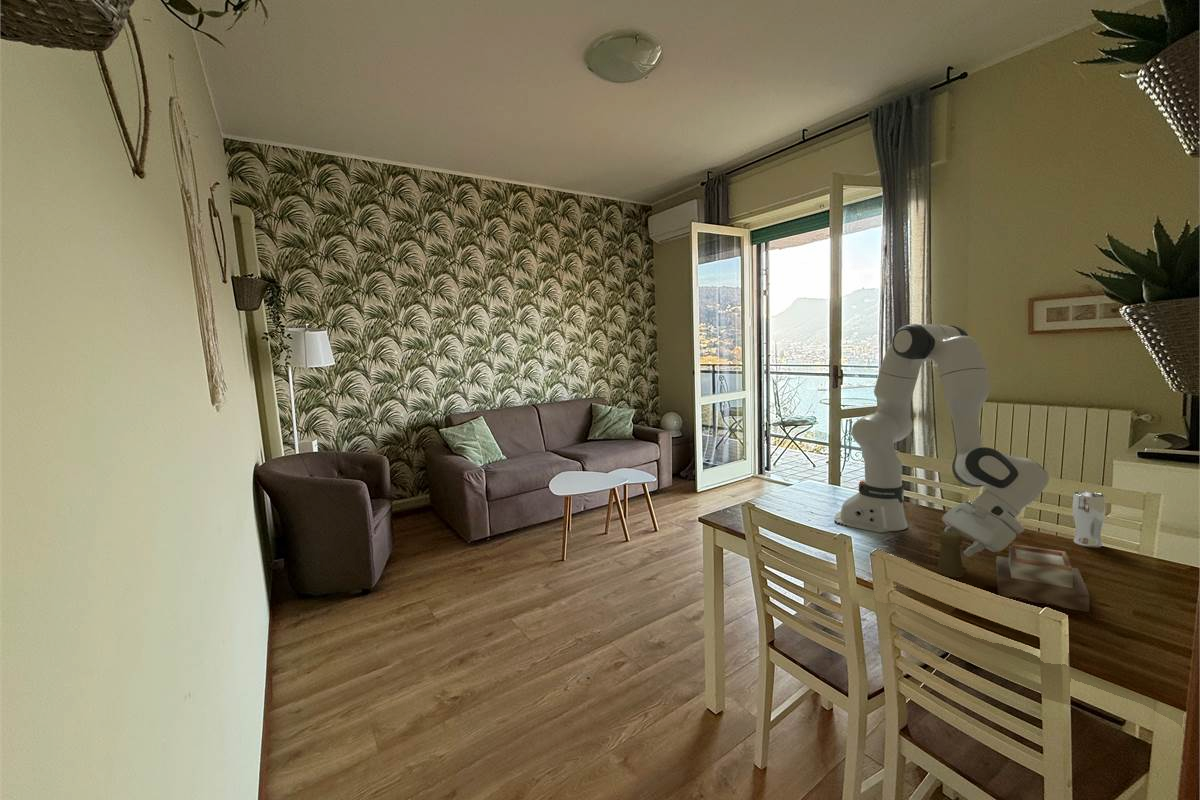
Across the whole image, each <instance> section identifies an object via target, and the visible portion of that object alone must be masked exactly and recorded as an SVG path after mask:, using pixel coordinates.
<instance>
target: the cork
mask: <svg viewBox="0 0 1200 800" xmlns="http://www.w3.org/2000/svg"><path fill="white" fill-rule="evenodd" d="M938 542H939V543H940V548H939V555H938V559H937V560H938V562H937V565H936V572H937V573H939V574H940V575H942V576H946V577H950V578H958V577H957V576H962V575H963V576H964V574H965V572H964V568H963V560H962V554H961V553H962V552H961V548H960V547H961V546H962V543H963V537H962V536H961V535H960V533H958V532H956V533H955V532H949V531H945V532H944V531H942V532H940V533H939V534H938ZM963 576H962V577H963Z"/></svg>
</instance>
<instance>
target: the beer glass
mask: <svg viewBox="0 0 1200 800" xmlns="http://www.w3.org/2000/svg"><path fill="white" fill-rule="evenodd" d="M1106 507H1107V506H1106V496H1105V495H1104V494H1102V493H1099V492H1095V491H1085V490H1084V491H1083V490H1081V491H1080V490H1079V491H1077V490H1076V491H1074V492H1073V498H1072V507H1071V508H1072V516H1073V521H1074V526H1075V533H1074V537H1073V542H1074V544H1077V545H1079V546H1082V547H1085V548H1086V547H1087V548H1095V549H1097V548H1101V547H1103V542H1102V536H1101V532H1102V528H1103V525H1104V521H1105V518H1106ZM1082 542H1083V543H1082Z"/></svg>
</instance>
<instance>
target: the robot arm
mask: <svg viewBox="0 0 1200 800" xmlns="http://www.w3.org/2000/svg"><path fill="white" fill-rule="evenodd" d="M927 361H928V362H931V361H934V362H935V363H936V364H937V367H938V372H939V377H940V382H941V387H942V390H943V395H944V397H945V399H946V400H945V401H946V402H947V406H948V410H949V413H950V417H951V425H952V431H953V438H954V444H955V455H954V458H953V462H952V465H951V470H952V474H953V476H954V478H955V479H956V480H957V481H958V482H959V483H960V484H962V485H964V486H967V487H970V488H981V487H984V488H985V490H984V491H982V493H981V494H979V495H978V496H977V497H976V498H975V499H974V500H973V501H971V500H968V501H963V502H960V503H958V504H955V506H953V507H952V508H951V509H949V510H948V511H947V512H946V513H945V514H943V515H942V518H941V521H942V522H943V523H944V524H945V525H946V526H945V528H944V531H943V532H945V531H949V532H955V533H958V534H961V535H962V536H964V537H965V538H967V539H970V540H972V541H973V542H972V543H973V544H972V545H970V546H964V547H963V549H960V553H962V555H964V556H966V557H967V558H970V557H971V556H973V555H974V554H976V553H979V552H982V551H984V550H985V548H986V549H987V550H989V551H990V552H993V553H999V552H1002V551H1003V550H1004V549H1006V548H1007V547H1009V546H1010V544H1012V542H1013V541H1014V540H1015V539H1016V536H1017V534H1018V535H1021V533H1023V532H1024V531H1025V529H1026V528H1025V527H1024V526H1023V525H1022V523H1020V521H1018V518H1017V517H1018V516H1019V515H1020V513H1021V511H1022V510H1023V508H1024V507H1026V506H1027V505H1029V504H1031V503H1033V501H1034V500H1036V499H1037V498H1038V497H1039V496H1040V495H1041V493H1042V492H1044V490H1045V489H1046V487H1047V486H1048V485H1049V482H1050V476H1049V475H1048V473H1047V472H1048V471H1046V469H1044V468H1043V466H1042V465H1041V464H1039V463H1038V462H1036V461H1035V460H1033V459H1030V458H1028V457H1019V456H1014V455H1010V454H1006V453H1004V452H1001V451H998V450H997V449H994V448H991V447H987V446H986V447H984V446H983V441H982V435H981V428H980V414H981V411H982V408H983V406H984V405H985V403H986V401H987V399H988V397H989V395H990V390H991V389H990V388H991V387H990V376H989V375H990V374H989V371H988V367H987V366H988V365H987V363H986V359H985V357H984V354H983V351H982V349H981V347H980V345H979V343H978V341H977V339H975V338H974V337H971V336H970V335H969V334H968V333H967V331H965V330H964V329H962V328H961V327H959V326H955V325H946V324H939V323H930V324H929V323H928V324H927V323H925V324H924V323H921V324H917V323H910V324H906V325H903V326H901V327H899V328H898V329H897V330H896V331H895V333H894V334H893V336H892V342H891V343H890V345H889V346H888V348H887V350H886V352H885V355H884V356H883V359H882V361H881V364H880V368H879V372H878V375H877V379H876V382H875V385H874V390H873V393H874V397H876V410H875V412H874V413H871V414H867V415H864V416H863V417H861V418H859V419H858V420H856V422H854V423H853V425H852V428H851V435H852V438H853V439H854V441H855V442H856V443H857V444H858V445H859V448H860V450H861V453H862V456H863V460H864V463H863V464H864V479H863V480H860V481H859V482H858V492H857V493H856V494H854V495H852V496H850V497H849V498H847V499H846V500H845V501H844V502H843V503H842V506H841V511H838V512H837V513H835V515H834V517H833V518H834V519H835V521H836V522H838V523H840V524H839V525H841V524H843V525H842V526H845V525H847V526H846V527H850V528H855V529H860V530H866V531H870V532H875V533H879V534H883V533H887V532H896V531H897V532H898V531H899V532H900V531H903V530H906V529H907V528H908V523H907V519H906V516H905V509H904V501H905V490H904V485H903V468H902V467H903V463H902V462H901V460H900V459H899V457H898V456H897V454H896V449H895V443H896V442H900V441H902V440H904V439H905V438H907V437H908V436H910V434H911V433H912V432H913V429H914V423H913V419H912V418H911V412H912V411H911V408H912V407H911V405H912V404H911V403H912V398H913V395H914V391H915V388H916V385H917V381H918V377H919V374H920V370H921V367H922V365H923V364H924V363H925V362H927ZM834 519H833V520H834ZM835 521H834V522H835Z"/></svg>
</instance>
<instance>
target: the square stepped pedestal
mask: <svg viewBox="0 0 1200 800" xmlns="http://www.w3.org/2000/svg"><path fill="white" fill-rule="evenodd" d="M1008 547H1009V548H1008V557H1006V556H1000V555H999V556H998V555H996V558H995V559H996V563H995V565H996V569H995V571H996V584H998V585H997V595H998V594H999V595H998V596H1000V595H1002V596H1001V597H1006V598H1010V599H1011V598H1012V597H1009V596H1006V595H1012V596H1013V595H1014V596H1016V597H1020V598H1022V599H1027V600H1028V601H1029V602H1032V603H1039V604H1043V603H1049V604H1055V605H1058V606H1060V607H1059V608H1064V609H1069V610H1075V611H1080V612H1084V613H1085V612H1086V613H1090V593H1089V591H1088V589H1087V586H1086V584H1085V582H1084V580H1083V577H1082V574H1081V572H1080V570H1079V568H1078V567H1072V565H1071V562H1070V559H1069V557H1068V554H1067V552H1066V551H1064V550H1057V549H1049V548H1048V549H1047V548H1043V547H1034V546H1029V545H1028V546H1027V545H1020V544H1014V543H1013V544H1012V543H1010V544H1009V546H1008ZM1004 594H1006V595H1004ZM1012 599H1013V598H1012ZM1022 599H1021V600H1022ZM1027 600H1026V601H1027ZM1058 606H1057V607H1058Z"/></svg>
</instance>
